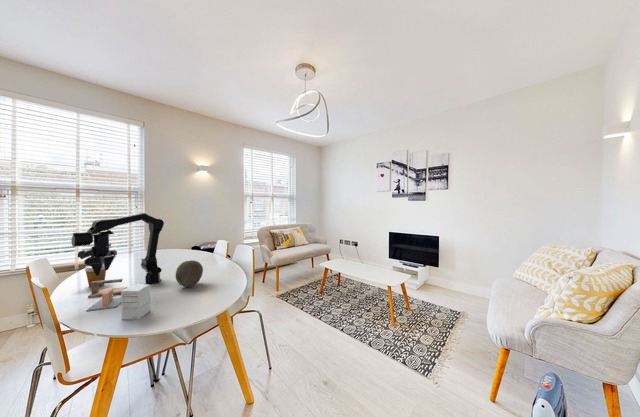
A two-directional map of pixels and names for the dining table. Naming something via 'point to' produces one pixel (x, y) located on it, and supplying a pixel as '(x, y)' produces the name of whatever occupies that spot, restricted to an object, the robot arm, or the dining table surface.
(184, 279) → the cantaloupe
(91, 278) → the disposable coffee cup
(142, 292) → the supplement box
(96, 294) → the stand
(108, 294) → the u-shaped block
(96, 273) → the robot arm
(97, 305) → the coaster
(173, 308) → the dining table surface
